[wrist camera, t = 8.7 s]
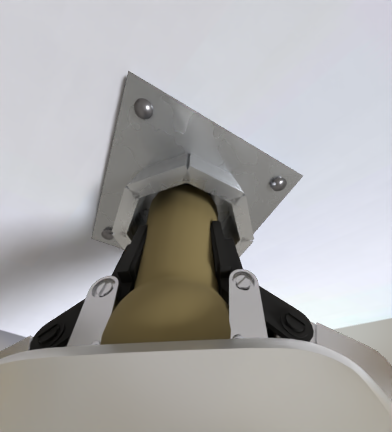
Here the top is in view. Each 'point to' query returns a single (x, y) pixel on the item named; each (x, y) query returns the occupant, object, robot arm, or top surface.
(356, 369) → the robot arm
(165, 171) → the duct collar
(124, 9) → the top surface
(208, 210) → the cork
